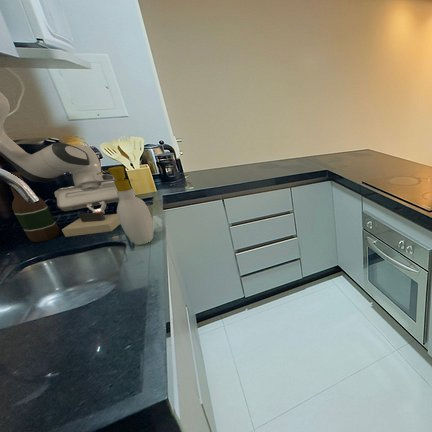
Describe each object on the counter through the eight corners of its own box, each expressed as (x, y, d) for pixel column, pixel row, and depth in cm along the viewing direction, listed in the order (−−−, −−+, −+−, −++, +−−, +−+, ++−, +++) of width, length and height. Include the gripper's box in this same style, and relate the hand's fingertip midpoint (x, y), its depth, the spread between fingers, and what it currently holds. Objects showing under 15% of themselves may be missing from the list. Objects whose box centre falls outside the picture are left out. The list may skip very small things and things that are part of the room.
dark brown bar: (82, 222, 111) (78, 214, 109) (84, 220, 112) (81, 212, 111) (102, 220, 112) (99, 212, 110) (105, 219, 113) (102, 211, 112)
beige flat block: (65, 237, 106) (61, 229, 105) (83, 224, 116) (79, 217, 115) (111, 231, 110) (108, 223, 109) (125, 219, 120) (122, 212, 119)
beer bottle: (28, 239, 105) (-9, 174, 96) (58, 230, 111) (26, 168, 102) (33, 244, 101) (-6, 177, 92) (64, 235, 107) (31, 171, 97)
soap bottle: (128, 236, 106) (99, 165, 96) (159, 229, 111) (133, 161, 100) (123, 252, 95) (89, 174, 85) (157, 245, 100) (129, 170, 89)
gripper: (49, 185, 107) (57, 218, 105) (120, 174, 119) (130, 203, 116) (57, 193, 113) (65, 225, 110) (125, 182, 124) (134, 210, 121)
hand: (99, 214), depth 113 cm, fingers closed
